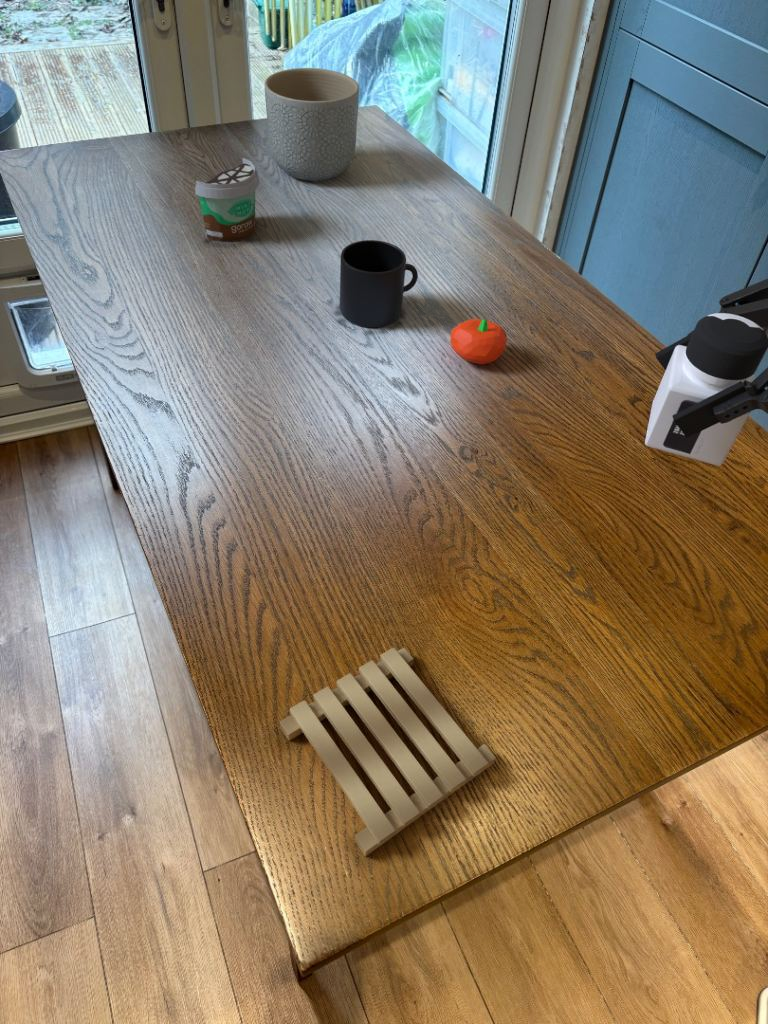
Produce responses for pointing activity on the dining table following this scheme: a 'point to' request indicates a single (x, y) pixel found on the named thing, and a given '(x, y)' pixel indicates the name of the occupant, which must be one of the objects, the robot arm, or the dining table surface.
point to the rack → (387, 745)
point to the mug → (373, 282)
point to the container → (705, 385)
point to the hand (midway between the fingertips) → (670, 394)
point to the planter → (312, 121)
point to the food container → (229, 203)
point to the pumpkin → (478, 340)
